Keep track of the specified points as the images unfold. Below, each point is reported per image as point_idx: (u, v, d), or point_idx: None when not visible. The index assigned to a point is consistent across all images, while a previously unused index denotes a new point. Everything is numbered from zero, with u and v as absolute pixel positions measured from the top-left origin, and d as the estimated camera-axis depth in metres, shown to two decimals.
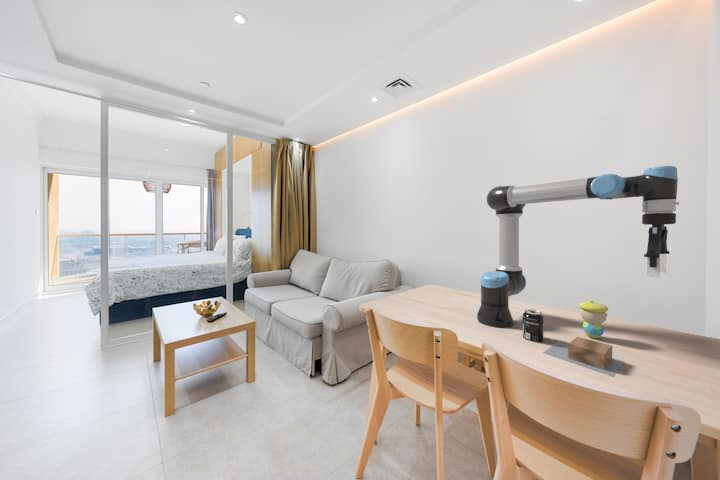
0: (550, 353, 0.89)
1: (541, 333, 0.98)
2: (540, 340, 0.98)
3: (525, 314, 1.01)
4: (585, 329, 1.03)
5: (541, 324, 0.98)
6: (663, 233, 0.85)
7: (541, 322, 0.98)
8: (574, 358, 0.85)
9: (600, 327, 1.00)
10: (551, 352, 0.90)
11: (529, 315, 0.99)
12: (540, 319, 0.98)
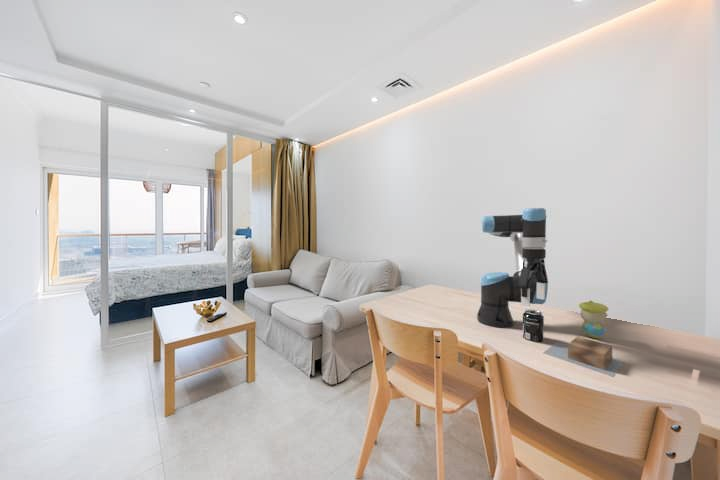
0: (550, 353, 0.89)
1: (541, 333, 0.98)
2: (540, 340, 0.98)
3: (525, 314, 1.01)
4: (585, 329, 1.03)
5: (541, 324, 0.98)
6: (535, 267, 0.97)
7: (541, 322, 0.98)
8: (574, 358, 0.85)
9: (600, 327, 1.00)
10: (551, 352, 0.90)
11: (529, 315, 0.99)
12: (540, 319, 0.98)
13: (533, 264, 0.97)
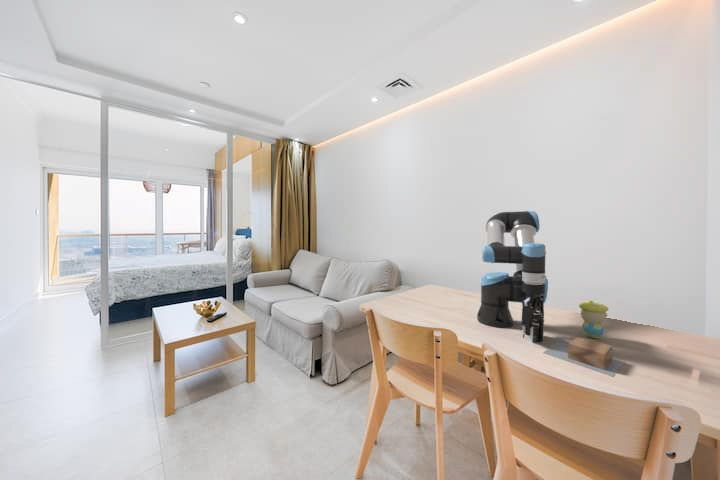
0: (550, 353, 0.89)
1: (541, 333, 0.98)
2: (540, 340, 0.98)
3: None
4: (585, 329, 1.03)
5: (541, 324, 0.98)
6: (534, 303, 0.98)
7: (541, 322, 0.98)
8: (574, 358, 0.85)
9: (600, 327, 1.00)
10: (551, 352, 0.90)
11: None
12: (540, 318, 0.98)
13: (533, 299, 0.98)
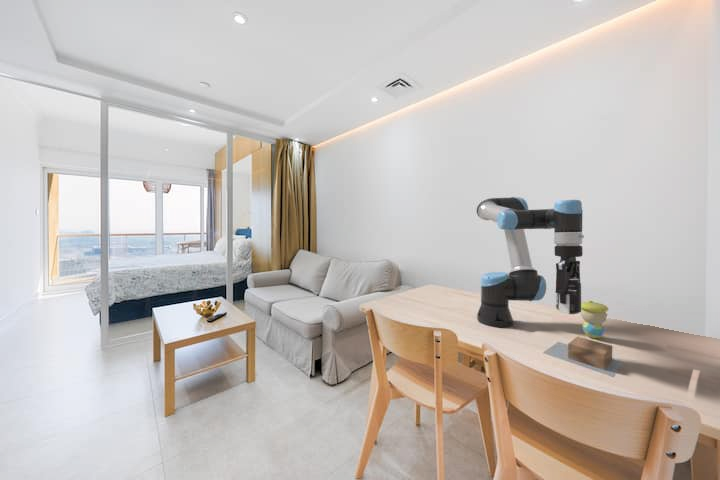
0: (550, 353, 0.89)
1: (579, 301, 0.86)
2: (578, 309, 0.86)
3: None
4: (585, 329, 1.03)
5: (578, 291, 0.86)
6: (570, 267, 0.86)
7: (578, 288, 0.86)
8: (574, 358, 0.85)
9: (600, 327, 1.00)
10: (551, 352, 0.90)
11: None
12: (578, 284, 0.86)
13: (568, 262, 0.86)
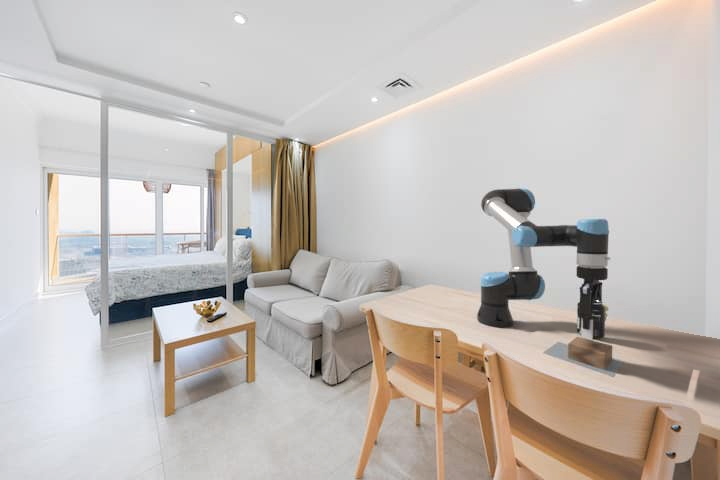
0: (550, 353, 0.89)
1: (603, 327, 0.81)
2: (601, 335, 0.81)
3: None
4: None
5: (603, 316, 0.81)
6: (595, 290, 0.81)
7: (603, 313, 0.81)
8: (574, 358, 0.85)
9: None
10: (551, 352, 0.90)
11: None
12: (602, 309, 0.81)
13: (593, 286, 0.81)
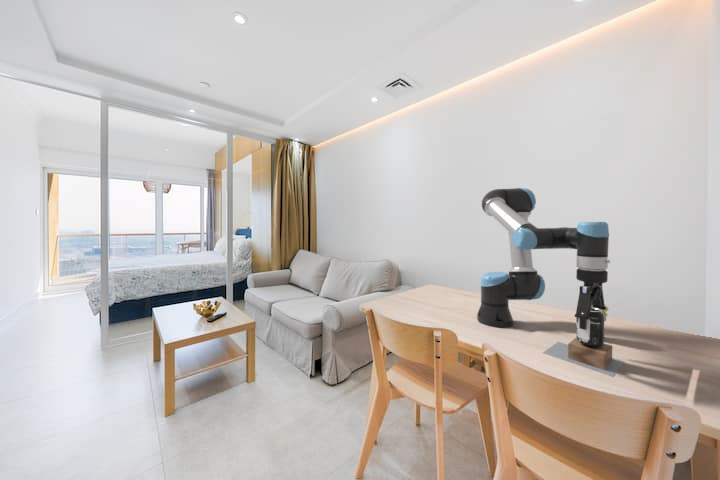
0: (550, 353, 0.89)
1: (602, 334, 0.81)
2: (601, 343, 0.81)
3: None
4: None
5: (602, 323, 0.81)
6: (594, 292, 0.81)
7: (602, 321, 0.81)
8: (574, 358, 0.85)
9: None
10: (551, 352, 0.90)
11: None
12: (601, 317, 0.81)
13: (592, 289, 0.81)
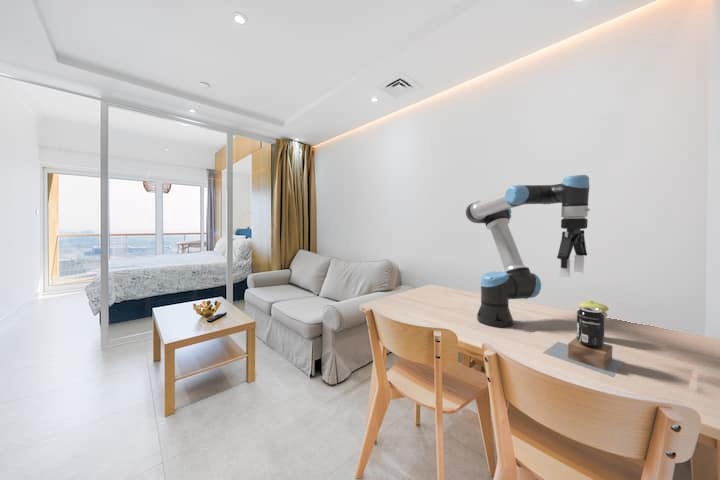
0: (550, 353, 0.89)
1: (602, 335, 0.81)
2: (601, 343, 0.81)
3: (581, 312, 0.84)
4: None
5: (602, 324, 0.81)
6: (575, 237, 0.93)
7: (602, 322, 0.81)
8: (574, 358, 0.85)
9: None
10: (551, 352, 0.90)
11: (587, 313, 0.83)
12: (602, 317, 0.81)
13: (574, 234, 0.93)
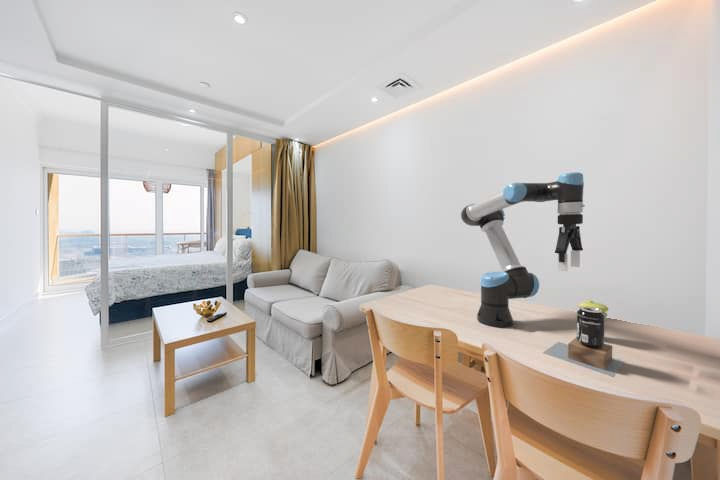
0: (550, 353, 0.89)
1: (602, 335, 0.81)
2: (601, 343, 0.81)
3: (581, 312, 0.84)
4: None
5: (602, 324, 0.81)
6: (572, 232, 0.96)
7: (602, 322, 0.81)
8: (574, 358, 0.85)
9: None
10: (551, 352, 0.90)
11: (587, 313, 0.83)
12: (602, 317, 0.81)
13: (570, 229, 0.96)
